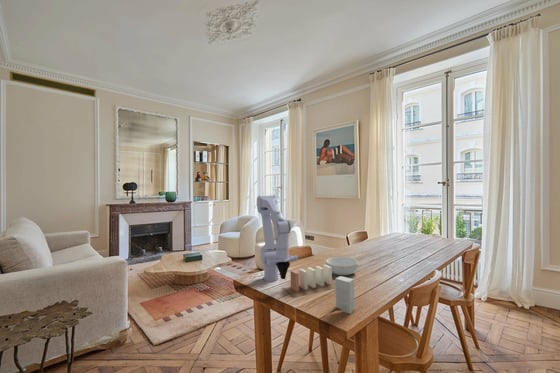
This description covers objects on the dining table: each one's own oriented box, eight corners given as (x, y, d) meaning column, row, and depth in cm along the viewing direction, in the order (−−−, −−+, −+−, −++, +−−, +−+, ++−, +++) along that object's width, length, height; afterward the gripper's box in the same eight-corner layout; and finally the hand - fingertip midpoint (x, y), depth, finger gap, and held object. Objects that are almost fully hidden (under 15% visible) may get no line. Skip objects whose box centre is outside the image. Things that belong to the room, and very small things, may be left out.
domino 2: (313, 288, 117) (312, 270, 117) (307, 284, 121) (307, 267, 121) (316, 287, 117) (315, 270, 117) (310, 283, 122) (310, 267, 122)
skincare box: (355, 310, 97) (354, 279, 97) (350, 314, 94) (349, 282, 94) (340, 305, 101) (340, 275, 101) (335, 309, 98) (334, 278, 98)
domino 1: (304, 289, 115) (304, 272, 115) (299, 286, 119) (299, 269, 119) (307, 289, 115) (307, 271, 115) (302, 285, 120) (302, 268, 120)
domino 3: (321, 286, 118) (321, 269, 119) (315, 282, 123) (315, 266, 123) (324, 285, 119) (323, 268, 119) (318, 282, 124) (318, 265, 124)
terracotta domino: (295, 291, 113) (295, 273, 113) (290, 287, 118) (290, 270, 118) (299, 290, 114) (298, 273, 114) (293, 287, 118) (293, 269, 118)
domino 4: (329, 284, 120) (328, 267, 120) (323, 281, 125) (323, 264, 125) (332, 283, 121) (331, 267, 121) (326, 280, 126) (325, 264, 126)
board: (292, 300, 107) (292, 297, 107) (281, 290, 117) (281, 288, 117) (341, 289, 117) (341, 287, 117) (327, 281, 127) (327, 279, 127)
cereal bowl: (332, 267, 149) (332, 255, 149) (361, 271, 141) (361, 259, 141) (321, 276, 135) (321, 262, 135) (353, 281, 126) (352, 267, 126)
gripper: (270, 252, 106) (271, 284, 106) (300, 248, 112) (301, 278, 112) (264, 248, 113) (265, 278, 113) (293, 244, 119) (294, 273, 119)
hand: (283, 278), depth 113 cm, fingers closed
